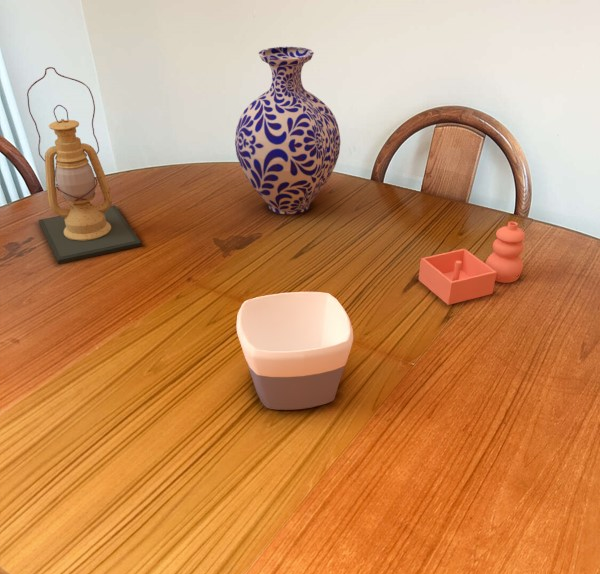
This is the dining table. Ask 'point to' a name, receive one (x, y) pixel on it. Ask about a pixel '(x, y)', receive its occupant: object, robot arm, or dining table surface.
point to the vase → (287, 136)
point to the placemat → (76, 250)
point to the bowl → (295, 347)
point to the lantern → (75, 179)
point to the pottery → (474, 268)
